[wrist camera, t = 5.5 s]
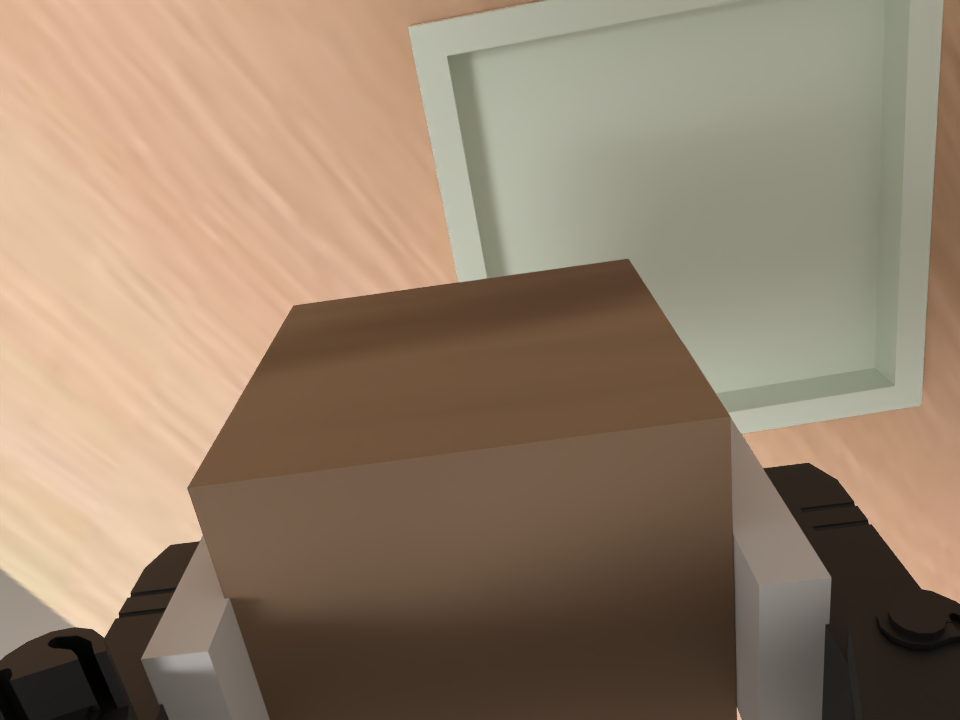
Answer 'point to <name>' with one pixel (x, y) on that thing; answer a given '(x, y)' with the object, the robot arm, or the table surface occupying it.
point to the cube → (480, 508)
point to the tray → (709, 177)
